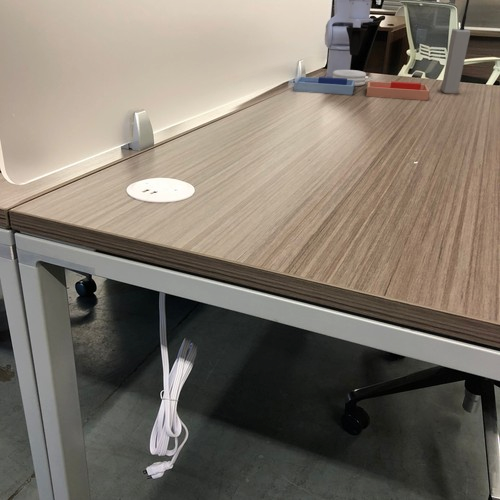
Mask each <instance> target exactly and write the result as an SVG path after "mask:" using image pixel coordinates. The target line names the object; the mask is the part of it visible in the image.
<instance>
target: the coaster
mask: <svg viewBox="0 0 500 500" xmlns="http://www.w3.org/2000/svg"><path fill="white" fill-rule="evenodd" d="M366 76H367V72H365V71H361V70H355V69H350V70H336V71H334V72H333V78H347V80H355V85H354V87H363V86H364V85H365V84H366V80H367V78H366Z"/></svg>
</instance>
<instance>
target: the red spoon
mask: <svg viewBox="0 0 500 500" xmlns="http://www.w3.org/2000/svg"><path fill="white" fill-rule="evenodd" d="M390 83H391V86H390V87H388V86H375V87H381V88H395V89H410V90H420V89H421V85H422V83H421V82H409V81H393V80H391V81H390Z"/></svg>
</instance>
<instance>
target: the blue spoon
mask: <svg viewBox="0 0 500 500" xmlns="http://www.w3.org/2000/svg"><path fill="white" fill-rule="evenodd" d="M318 78H319V79H318V82H315V81H305V82H306V83H321V84H336V85H347V78H333V77H325V76H318Z"/></svg>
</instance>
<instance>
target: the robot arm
mask: <svg viewBox="0 0 500 500" xmlns="http://www.w3.org/2000/svg"><path fill="white" fill-rule="evenodd" d="M333 4H334V5H333V8H334V11H333V13H334V16H331V18H329V19H328V21H326V25H325V34H324V45H325V47H326V48H327V49H328V57H327V66H326V67H327V68H326V75H325V76H324V77H333V72H334V71H336V70H351V64H352V56H358V55H359V52H360V50H361V47H362V43H363V39H364V36H365V34H366V33H367V31H368V28H369V25H363V24H364V23H365V24H366V23H372V22H374V18H370V14H371V6H372V0H333Z"/></svg>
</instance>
